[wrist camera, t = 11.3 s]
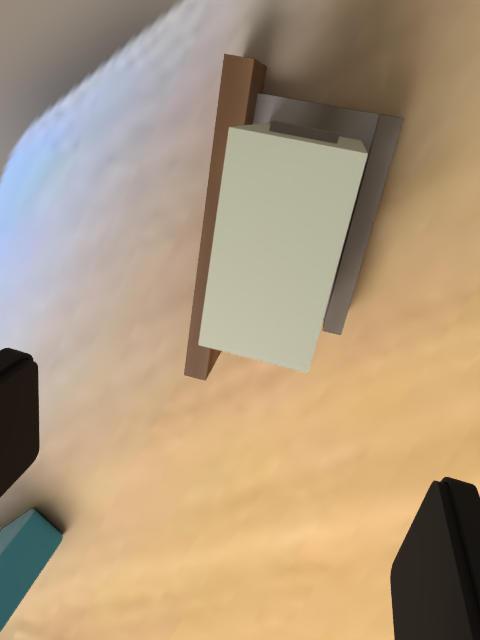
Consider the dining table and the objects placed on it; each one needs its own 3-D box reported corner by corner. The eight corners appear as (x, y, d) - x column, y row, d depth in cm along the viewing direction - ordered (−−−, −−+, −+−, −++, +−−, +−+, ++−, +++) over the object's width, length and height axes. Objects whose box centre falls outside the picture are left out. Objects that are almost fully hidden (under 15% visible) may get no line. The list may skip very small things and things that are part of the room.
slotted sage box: (363, 133, 26) (370, 142, 17) (320, 298, 31) (308, 373, 22) (269, 115, 27) (230, 115, 18) (241, 279, 31) (198, 345, 23)
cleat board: (406, 89, 26) (414, 85, 23) (323, 380, 35) (320, 410, 31) (240, 61, 27) (224, 53, 24) (200, 349, 36) (184, 374, 33)
